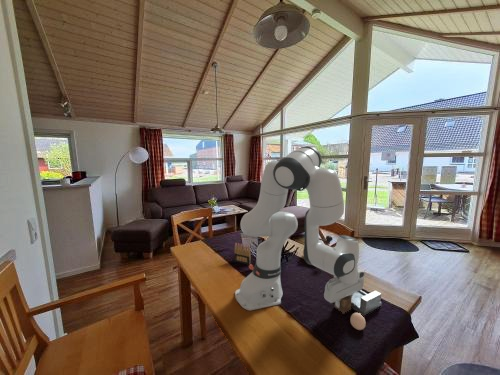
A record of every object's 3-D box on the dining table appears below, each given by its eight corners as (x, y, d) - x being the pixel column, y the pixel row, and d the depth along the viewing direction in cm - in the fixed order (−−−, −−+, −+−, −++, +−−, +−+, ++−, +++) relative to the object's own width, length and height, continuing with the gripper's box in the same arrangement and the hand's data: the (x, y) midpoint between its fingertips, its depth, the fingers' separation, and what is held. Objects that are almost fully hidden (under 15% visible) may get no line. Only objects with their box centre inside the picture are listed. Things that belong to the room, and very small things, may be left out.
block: (343, 314, 86) (344, 300, 85) (334, 307, 90) (335, 294, 89) (350, 310, 88) (351, 297, 87) (341, 303, 92) (342, 291, 91)
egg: (351, 320, 83) (353, 307, 82) (366, 327, 80) (367, 313, 79) (348, 328, 79) (349, 314, 78) (363, 336, 76) (364, 321, 75)
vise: (363, 316, 85) (365, 302, 84) (324, 289, 102) (325, 276, 101) (381, 306, 90) (382, 293, 90) (341, 282, 108) (342, 270, 107)
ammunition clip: (250, 263, 126) (251, 244, 124) (249, 265, 124) (249, 245, 123) (235, 259, 131) (235, 241, 129) (233, 261, 129) (233, 242, 127)
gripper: (334, 285, 79) (331, 318, 81) (367, 271, 89) (365, 301, 91) (321, 276, 85) (319, 307, 87) (354, 264, 94) (351, 292, 96)
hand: (343, 304), depth 89 cm, fingers closed on block, 4 cm apart
